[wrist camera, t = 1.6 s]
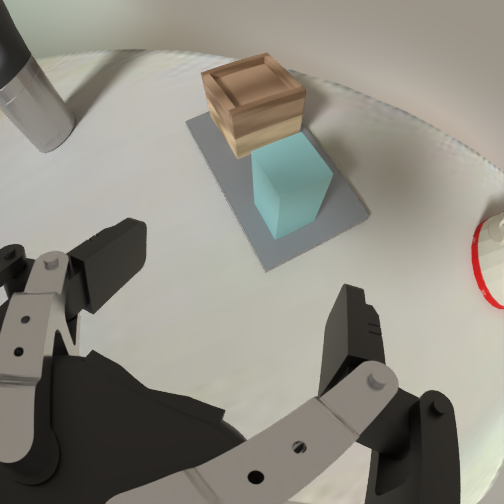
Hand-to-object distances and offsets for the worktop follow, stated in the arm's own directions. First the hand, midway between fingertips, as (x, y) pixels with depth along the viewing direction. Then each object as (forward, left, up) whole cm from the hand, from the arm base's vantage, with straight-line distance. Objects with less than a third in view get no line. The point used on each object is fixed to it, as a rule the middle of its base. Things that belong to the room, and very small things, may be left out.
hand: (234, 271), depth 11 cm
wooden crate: (-22, +11, -19) cm, 31 cm away
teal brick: (-8, +8, -19) cm, 22 cm away
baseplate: (-15, +10, -20) cm, 27 cm away
